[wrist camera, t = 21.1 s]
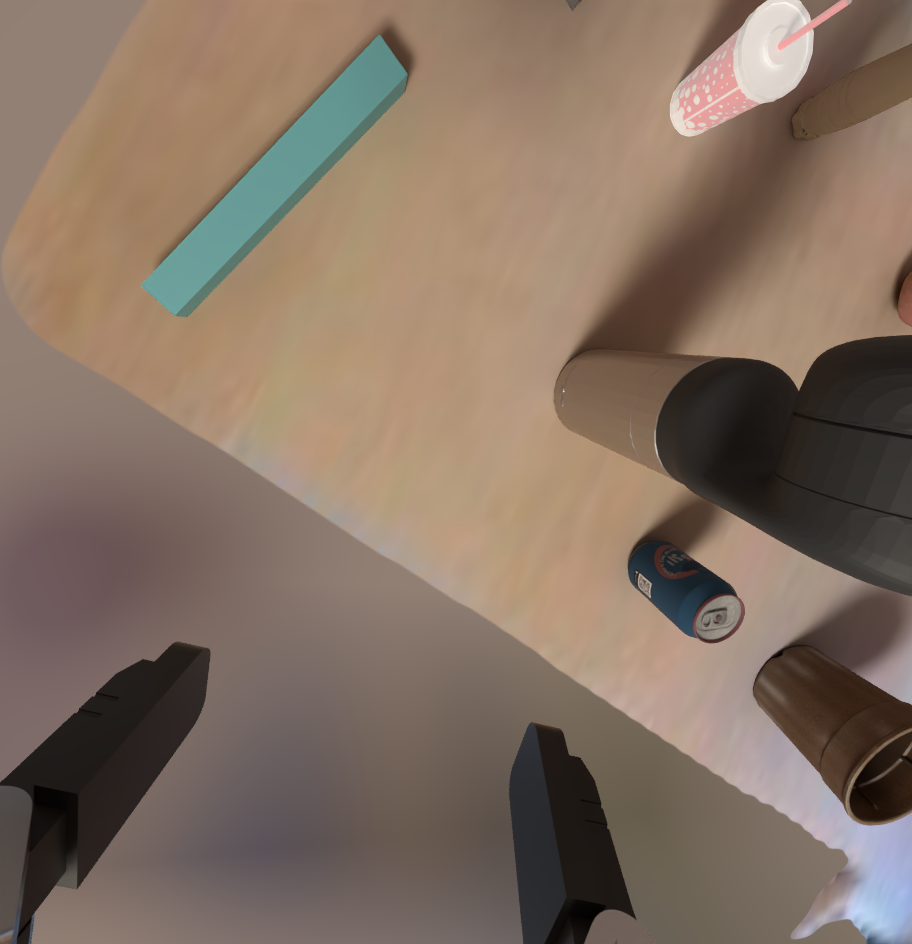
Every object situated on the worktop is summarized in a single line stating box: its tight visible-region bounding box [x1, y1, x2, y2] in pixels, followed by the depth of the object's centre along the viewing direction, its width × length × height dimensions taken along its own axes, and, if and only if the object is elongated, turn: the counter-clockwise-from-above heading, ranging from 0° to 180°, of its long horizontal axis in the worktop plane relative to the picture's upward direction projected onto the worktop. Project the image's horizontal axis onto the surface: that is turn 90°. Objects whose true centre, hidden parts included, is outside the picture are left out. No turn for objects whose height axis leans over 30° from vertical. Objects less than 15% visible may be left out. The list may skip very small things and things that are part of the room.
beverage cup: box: [670, 0, 852, 137], centre depth 34 cm, size 6×6×14 cm
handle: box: [791, 44, 912, 140], centre depth 36 cm, size 5×6×15 cm
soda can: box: [628, 541, 745, 643], centre depth 50 cm, size 7×7×12 cm
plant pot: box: [753, 646, 912, 825], centre depth 60 cm, size 16×16×16 cm
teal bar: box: [141, 34, 408, 317], centre depth 35 cm, size 26×3×3 cm, turn 132°
